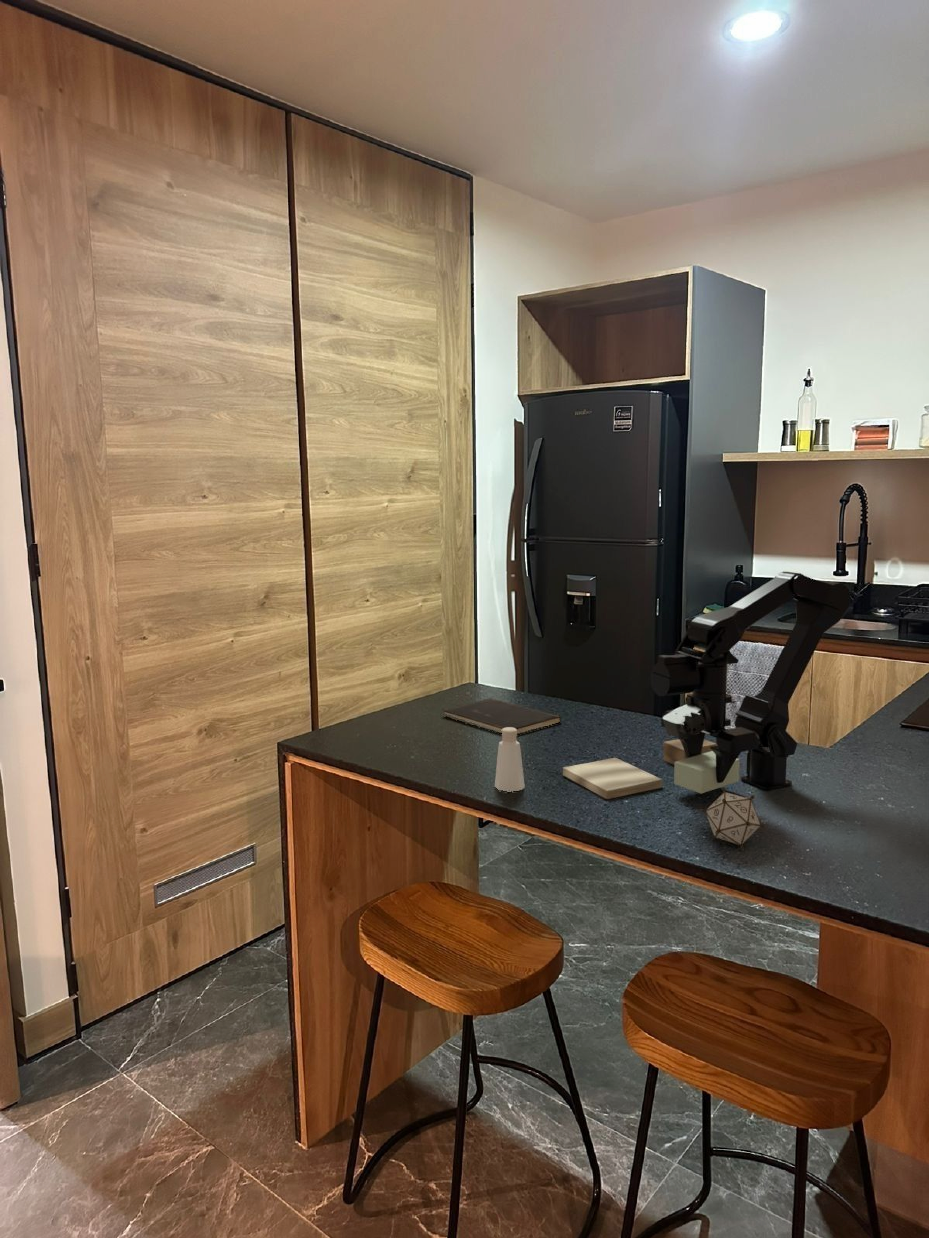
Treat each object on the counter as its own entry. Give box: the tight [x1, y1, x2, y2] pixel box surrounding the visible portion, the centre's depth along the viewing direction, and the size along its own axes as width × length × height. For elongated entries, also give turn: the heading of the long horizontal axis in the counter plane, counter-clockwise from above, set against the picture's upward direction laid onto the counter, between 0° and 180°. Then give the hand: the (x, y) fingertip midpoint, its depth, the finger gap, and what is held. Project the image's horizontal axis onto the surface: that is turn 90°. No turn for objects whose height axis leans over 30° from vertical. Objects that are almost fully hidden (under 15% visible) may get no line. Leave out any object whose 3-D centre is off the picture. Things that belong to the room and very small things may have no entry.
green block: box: [673, 751, 741, 794], centre depth 152 cm, size 6×10×4 cm, turn 125°
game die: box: [698, 786, 767, 851], centre depth 132 cm, size 9×8×10 cm
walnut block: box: [663, 738, 718, 765], centre depth 170 cm, size 6×8×4 cm
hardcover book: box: [441, 698, 562, 734], centre depth 201 cm, size 16×23×2 cm
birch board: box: [562, 757, 663, 800], centre depth 160 cm, size 14×12×2 cm
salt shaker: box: [494, 727, 525, 793], centre depth 157 cm, size 5×5×11 cm
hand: (706, 776), depth 153 cm, fingers closed on green block, 6 cm apart
